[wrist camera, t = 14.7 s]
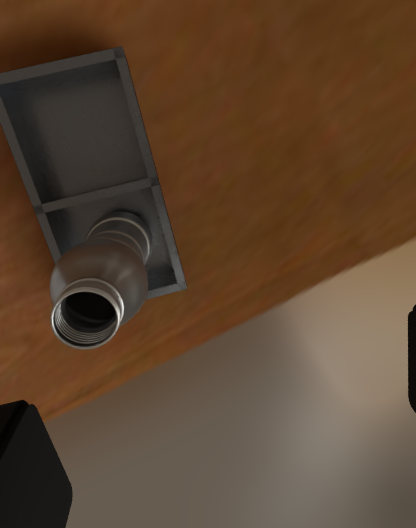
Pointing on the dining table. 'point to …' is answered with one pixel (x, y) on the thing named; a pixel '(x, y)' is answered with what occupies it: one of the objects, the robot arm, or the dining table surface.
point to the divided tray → (87, 154)
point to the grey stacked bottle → (101, 281)
